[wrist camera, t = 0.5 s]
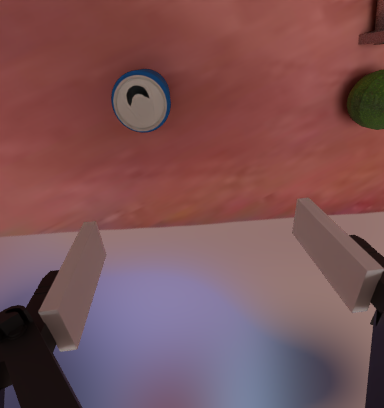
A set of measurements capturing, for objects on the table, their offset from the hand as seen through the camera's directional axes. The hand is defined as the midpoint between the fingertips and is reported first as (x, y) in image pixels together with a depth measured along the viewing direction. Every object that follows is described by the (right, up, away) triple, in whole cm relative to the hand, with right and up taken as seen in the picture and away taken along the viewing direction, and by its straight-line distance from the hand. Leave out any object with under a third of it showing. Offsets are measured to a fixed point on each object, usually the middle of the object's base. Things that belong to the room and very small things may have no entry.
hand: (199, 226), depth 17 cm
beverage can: (-7, +18, +21) cm, 28 cm away
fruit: (+26, +19, +24) cm, 40 cm away
